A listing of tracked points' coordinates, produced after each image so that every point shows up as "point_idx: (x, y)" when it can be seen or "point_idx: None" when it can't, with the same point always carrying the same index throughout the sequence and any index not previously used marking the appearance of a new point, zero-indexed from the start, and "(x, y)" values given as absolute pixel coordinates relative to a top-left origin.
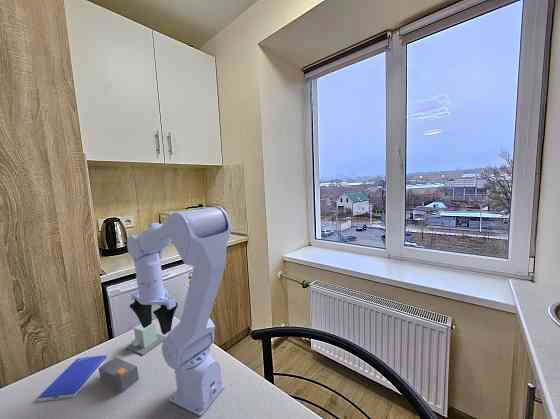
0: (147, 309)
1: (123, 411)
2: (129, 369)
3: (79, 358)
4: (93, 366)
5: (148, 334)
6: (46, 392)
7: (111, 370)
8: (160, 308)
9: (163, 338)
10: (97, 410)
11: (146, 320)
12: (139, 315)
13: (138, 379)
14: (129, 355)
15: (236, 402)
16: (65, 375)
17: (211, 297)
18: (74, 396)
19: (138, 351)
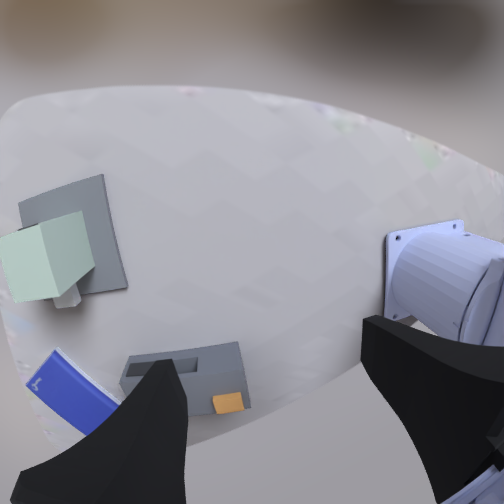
0: (154, 467)
1: (306, 389)
2: (233, 385)
3: (28, 384)
4: (82, 388)
5: (68, 256)
6: None
7: None
8: (473, 480)
9: (96, 188)
10: (248, 416)
11: (175, 414)
12: (183, 491)
13: (237, 342)
14: (89, 309)
15: (484, 235)
16: (76, 420)
17: None
18: None
19: (97, 289)
